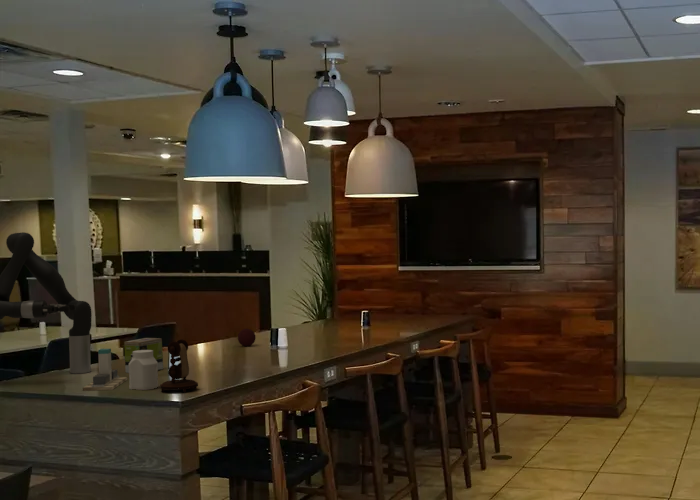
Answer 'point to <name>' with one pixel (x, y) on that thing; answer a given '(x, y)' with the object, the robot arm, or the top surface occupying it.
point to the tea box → (144, 344)
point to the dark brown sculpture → (178, 368)
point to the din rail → (104, 379)
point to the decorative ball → (246, 337)
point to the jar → (143, 370)
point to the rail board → (107, 387)
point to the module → (105, 362)
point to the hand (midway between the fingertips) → (72, 308)
